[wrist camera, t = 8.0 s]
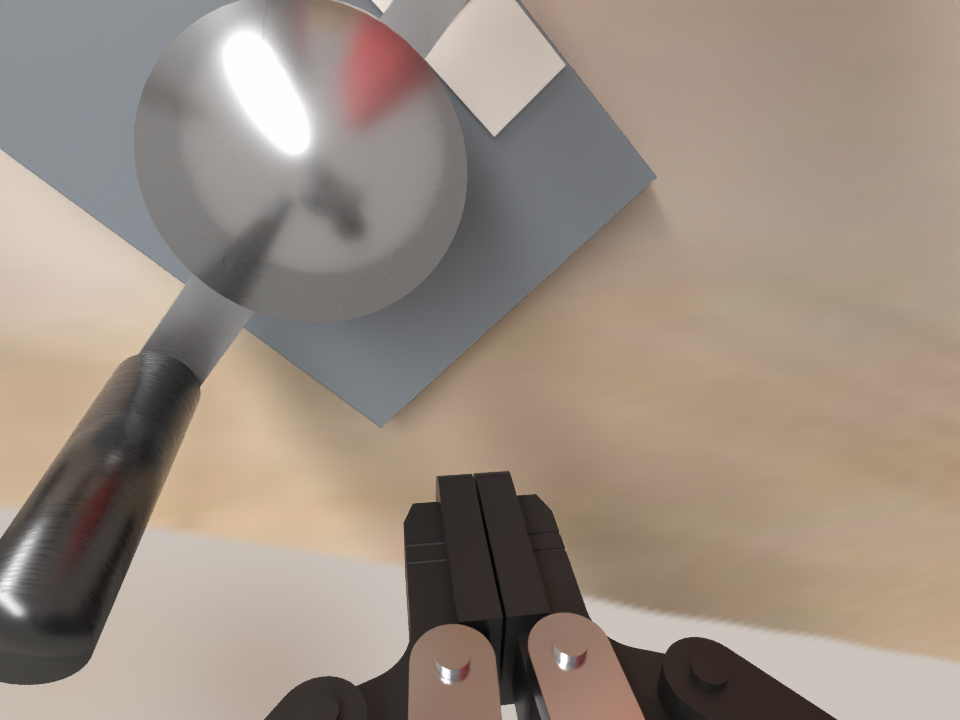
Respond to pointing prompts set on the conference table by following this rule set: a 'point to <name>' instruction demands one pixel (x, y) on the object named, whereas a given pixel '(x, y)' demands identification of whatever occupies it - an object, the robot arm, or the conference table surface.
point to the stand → (490, 171)
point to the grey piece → (239, 264)
